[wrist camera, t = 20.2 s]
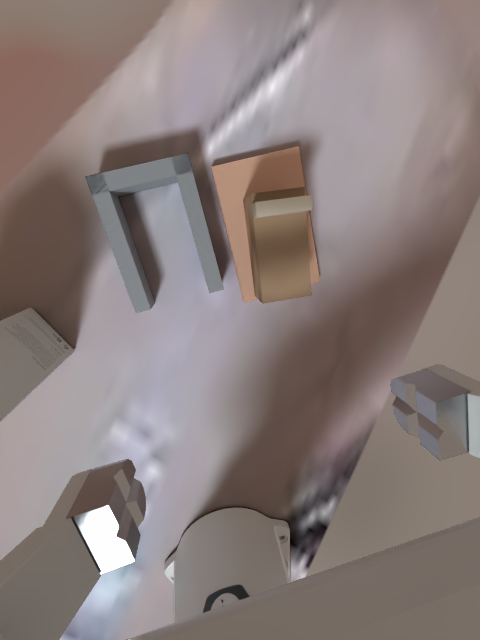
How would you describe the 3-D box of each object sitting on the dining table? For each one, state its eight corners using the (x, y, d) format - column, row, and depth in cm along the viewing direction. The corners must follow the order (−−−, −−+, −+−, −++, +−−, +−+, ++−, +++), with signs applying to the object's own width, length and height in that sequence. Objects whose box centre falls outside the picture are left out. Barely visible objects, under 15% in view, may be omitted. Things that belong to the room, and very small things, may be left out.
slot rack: (221, 284, 31) (223, 289, 28) (141, 306, 30) (135, 313, 28) (188, 162, 28) (187, 152, 25) (96, 183, 27) (85, 176, 24)
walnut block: (297, 288, 32) (317, 297, 27) (254, 296, 31) (266, 306, 26) (290, 194, 29) (311, 183, 24) (243, 200, 28) (253, 190, 23)
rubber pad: (317, 280, 33) (320, 281, 32) (243, 301, 32) (244, 302, 31) (295, 148, 29) (298, 146, 28) (210, 168, 28) (211, 166, 27)
